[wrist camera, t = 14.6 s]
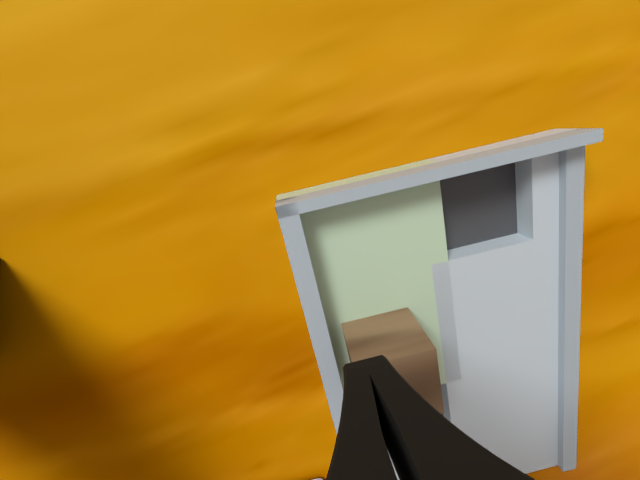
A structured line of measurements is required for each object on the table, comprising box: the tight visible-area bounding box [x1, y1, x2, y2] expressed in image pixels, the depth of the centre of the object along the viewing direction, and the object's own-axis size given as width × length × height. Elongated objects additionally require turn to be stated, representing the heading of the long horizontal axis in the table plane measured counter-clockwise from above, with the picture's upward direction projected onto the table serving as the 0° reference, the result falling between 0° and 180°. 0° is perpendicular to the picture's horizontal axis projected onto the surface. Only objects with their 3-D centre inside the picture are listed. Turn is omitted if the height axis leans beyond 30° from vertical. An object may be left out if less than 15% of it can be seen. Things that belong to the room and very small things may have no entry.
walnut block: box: [341, 307, 444, 414], centre depth 19 cm, size 4×4×4 cm
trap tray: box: [275, 128, 603, 480], centre depth 21 cm, size 24×16×3 cm, turn 13°
